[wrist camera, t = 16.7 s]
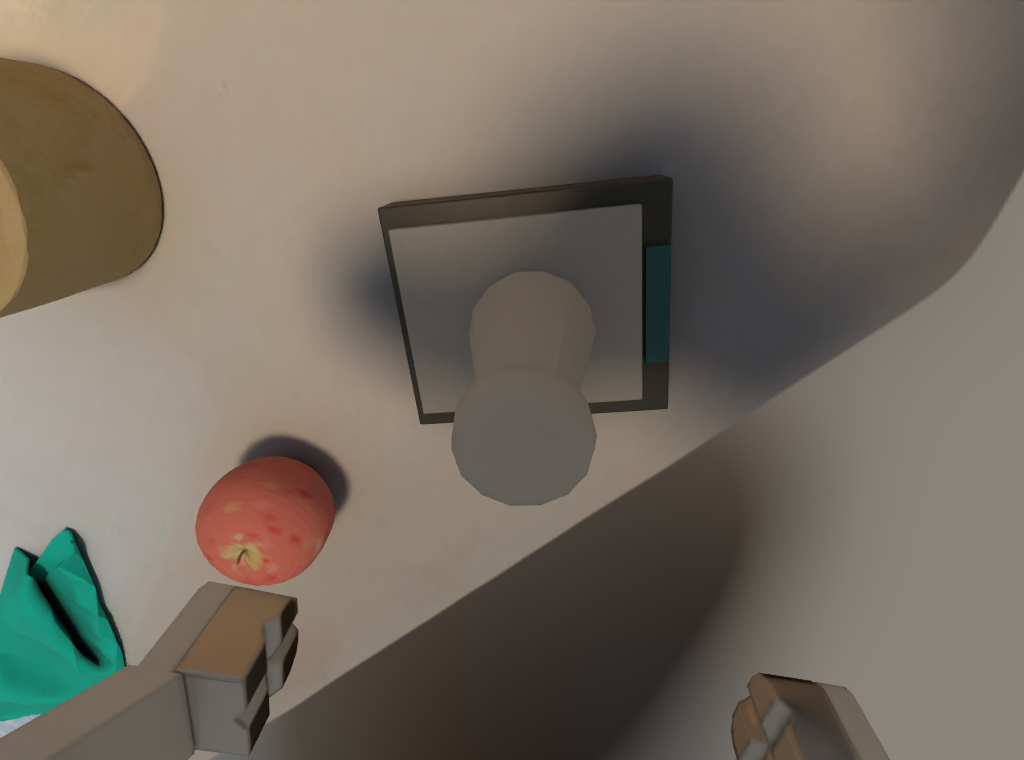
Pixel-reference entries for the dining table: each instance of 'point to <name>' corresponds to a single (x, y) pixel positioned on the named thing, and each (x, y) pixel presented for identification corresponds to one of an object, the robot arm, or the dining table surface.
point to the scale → (528, 248)
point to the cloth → (51, 631)
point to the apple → (265, 521)
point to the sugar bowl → (68, 189)
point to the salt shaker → (527, 392)
